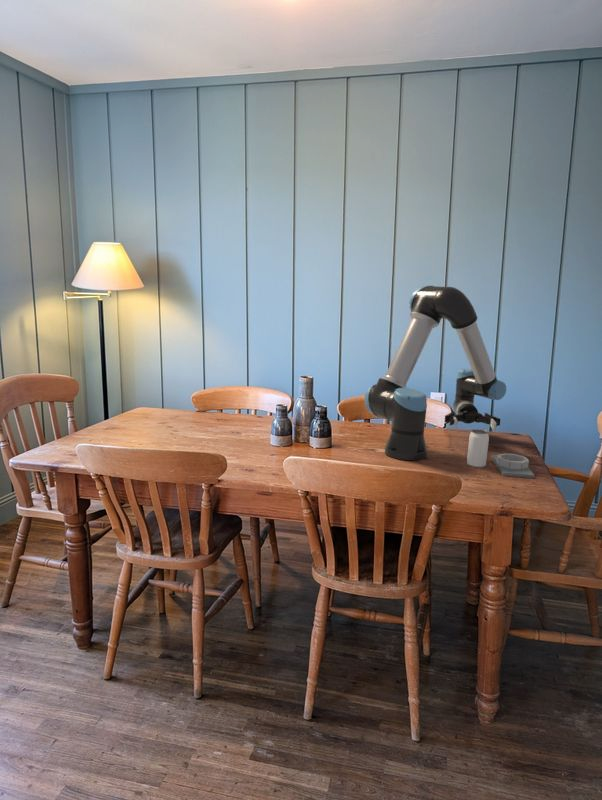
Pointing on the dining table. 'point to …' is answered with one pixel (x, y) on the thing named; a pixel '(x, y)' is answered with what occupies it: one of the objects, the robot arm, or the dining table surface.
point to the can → (477, 448)
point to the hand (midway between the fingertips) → (475, 425)
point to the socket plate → (513, 465)
